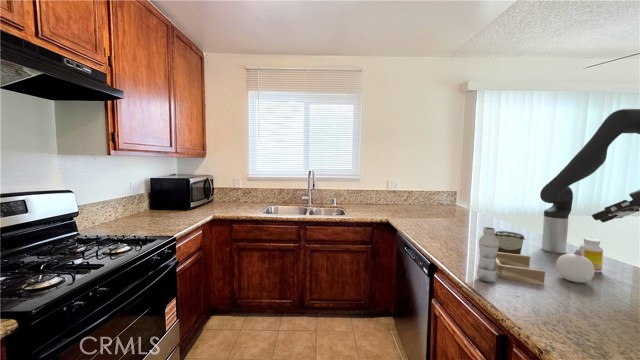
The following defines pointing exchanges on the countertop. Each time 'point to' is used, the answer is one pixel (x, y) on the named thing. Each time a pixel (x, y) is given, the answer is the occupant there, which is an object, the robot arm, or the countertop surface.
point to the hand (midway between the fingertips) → (596, 219)
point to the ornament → (575, 267)
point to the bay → (518, 269)
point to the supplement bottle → (592, 252)
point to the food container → (509, 242)
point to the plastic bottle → (488, 255)
